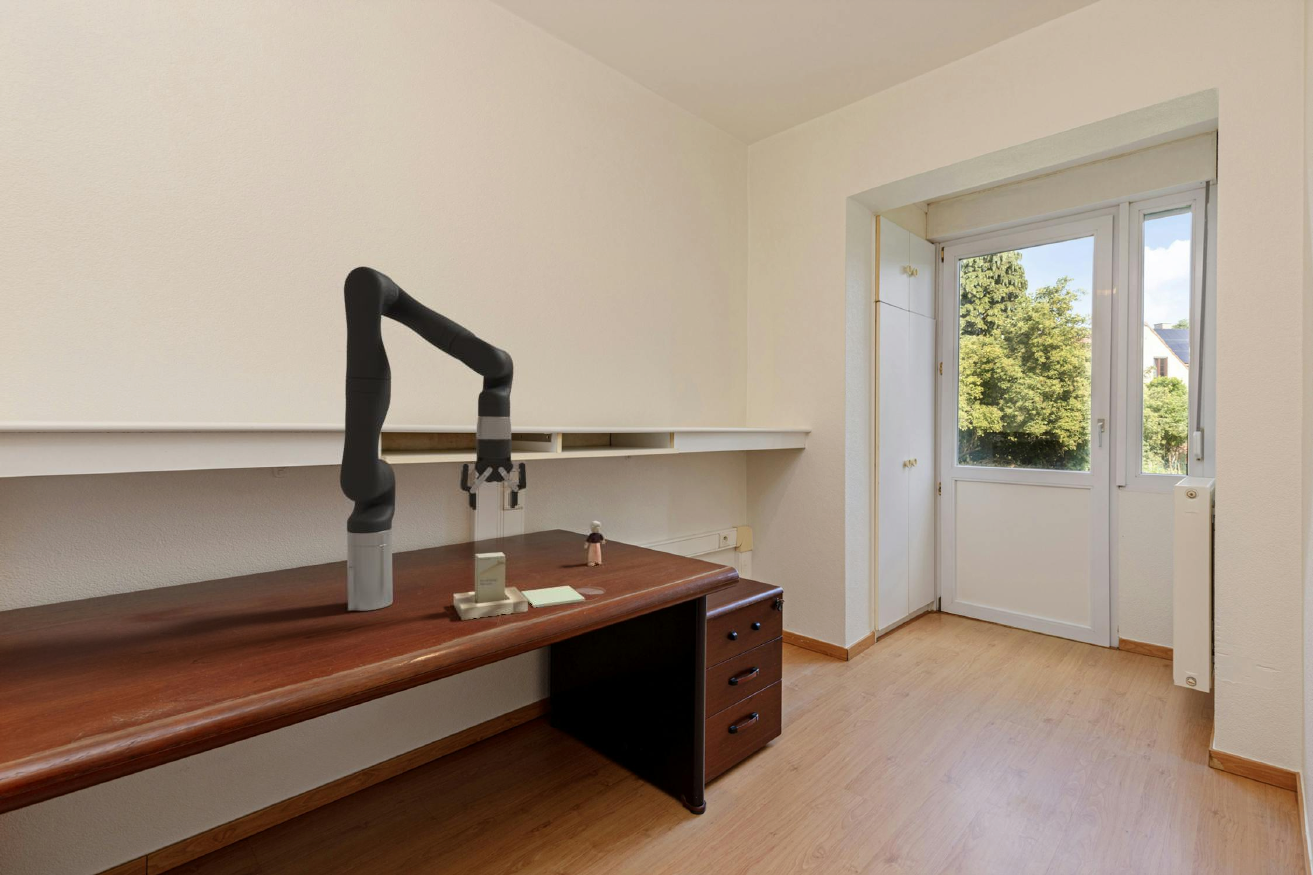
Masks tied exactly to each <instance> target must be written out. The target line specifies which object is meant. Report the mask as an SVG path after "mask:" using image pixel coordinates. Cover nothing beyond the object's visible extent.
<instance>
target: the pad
mask: <svg viewBox="0 0 1313 875" xmlns="http://www.w3.org/2000/svg"><path fill="white" fill-rule="evenodd" d="M520 593H521V594H522V595H523V596H524V597H525V598H526V599H527V600H528V604H530V603H531V604H532V605H531V604H530V605H531V606H532V607H533V608H534V609H535V608H536V607H537V608H542V607H550V606H556V605H565V604H572V603H579V602H585V601H586V598H585V597H584V596H583V595H581V594H580V593H579V592H577V591H576V590H575V589H574V588H572V587H571V586H569V585H563V586H555V587H547V588H537V589H531V590H524V591H523V590H522V591H520Z"/></svg>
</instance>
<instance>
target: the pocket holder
mask: <svg viewBox="0 0 1313 875" xmlns="http://www.w3.org/2000/svg"><path fill="white" fill-rule="evenodd" d="M453 606H454V608H455V610H456V612H457V614H458V616H459V618H460V617H461V618H460V619H461V621H462V620H463V621H469V619H470V620H474V619H473V618H477V619H481V618H480V617H484V618H489V617H488V616H492V617H497V615H499V616H502V615H501V614H506V615H512V614H511V613H513V614H518V613H519V614H520V613H526V612H527V611H529V610H528V609H529V602H528V600H527V599H526V598H525V597H524V596H523V595H522V594H521V591H520V590H518V588H516V586H511V587H505V600H503V601H495V602H487V603H479V604H476V603H475V591H468V592H461V593H459V592H458V593H453Z"/></svg>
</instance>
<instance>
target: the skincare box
mask: <svg viewBox="0 0 1313 875" xmlns="http://www.w3.org/2000/svg"><path fill="white" fill-rule="evenodd" d="M505 588H506V555H505V554H504V553H503V552H502V551H500V552H486V553H475V554H474V592H475V603H476V604H479V603H487V602H495V601H503V600H505Z"/></svg>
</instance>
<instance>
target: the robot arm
mask: <svg viewBox="0 0 1313 875" xmlns="http://www.w3.org/2000/svg"><path fill="white" fill-rule="evenodd" d="M343 299H344V308H345V309H344V310H345V321H346V365H345V366H346V367H345V368H346V370H345V412H344V413H345V415H344V417H345V418H344V419H345V420H344V441H343V442H344V443H343V452H342V460H341V466H340V471H339V472H340V473H339V474H340V475H339V484H340V488H341V490H342V493H343V494H344V495H345V497H346V498H348V499H349V500H350V501H352V502H354V507H353V510H352V512H351V514H350V516H348V518H347V520H346V540H347V541H346V542H347V545H346V546H347V547H346V550H347V552H346V555H347V556H346V557H347V559H346V560H347V565H346V566H347V572H346V573H347V611H361V612H362V611H374V610H378V609H383V608H386V607H388V606H391V605H392V604H393V602H394V601H393V599H394V598H393V594H394V592H393V533H392V532H393V529H392V528H393V525H392V523H393V519H394V516H395V512H396V490H397V489H396V475H395V472H394V469H393V467H392V466H391V465H390V464H389V463H388V462H387V460H384V459H381V458H379V445H380V444H379V441H380V436H381V433H382V432H381V431H382V428H383V426H384V423H385V422H386V418H387V415H388V412H389V409H390V404H391V398H392V394H391V393H392V369H391V366H390V361H389V358H388V355H387V351H386V349H385V345H384V340H383V336H382V316H383V317H386V318H388V319H390V320H393V321H395V322H397V323H400V324H402V325H403V326H406V327H407V328H409V329H410V330H412V331H414V333H416V334H417V335H419V336H420V337H421V338H422V339H424V340H425V341H426V342H428V343H429V344H431V345H432V346H433V347H435V348H437V349H438V350H440V351H441V352H443V353H445V354H447V355H448V356H450V357H452V358H453V359H456V360H458V361H460V362H461V363H462V364H464V365H465V366H467V368H469V369H471V370H472V371H473V372H475V373H476V374H478V375H480V376H482V378H483V379H482V380H483V381H482V390H481V391H480V393H479V394H478V398H477V422H476V432H475V436H476V459H475V460H476V461H475V463H466V462H463V463H462V464H461V466H460V467H461V468H460V469H461V471H460V481H459V482H460V483H459V487H460V489H461V490H462V491H465V492H467V493H468V506H469V508H470V509H471V510H472V511H476V510H477V493H476V492H477V491H478V489H479V488H480V487H481V486H482V485H483V483H484V482H485V483H493V482H497V483H503V481H504V482H505V484H506V485H507V486H508V487H509V488H510V492H509V507H510V509H515V508H516V506H518V503H519V502H518V500H519V495H518V494H519V492H520V491H521V490H525V489H526V488H527V473H526V464H525V462H522V461H519V462H518V463H517V462H515V463H513V462H512V423H511V393H512V386H513V380H514V379H513V378H514V361H513V358H512V356H511V355H510V353H509V352H507V351H505V350H504V349H501V348H498V347H496V346H494V345H493V344H491V343H489V342H487V341H485V340H484V339H481V338H479V337H477V336H476V335H475V333H473V332H472V331H471V330H469V329H468V328H466V327H464V326H462V325H460V324H459V323H457V322H456V321H454V320H453V319H450V318H449V317H447V316H445V315H443V314H442V313H439V312H437V311H435V310H433V309H432V308H429V307H428V306H425V305H424V304H422V303H421V302H420V301H419V300H416V299H415V298H414V297H412V296H411V295H410V294H409V293H408V292H407V291H406V290H404V289H403V288H402V287H401V286H400V285H399V284H397V283H396V282H395V281H394V280H393V279H392V278H391V277H389V276H388V275H386V274H385V273H383V272H381V271H378V270H376V269H375V268H371V267H369V266H358V267H354V269H352V270H350V272H348V274H347V276H346V278H345V281H344V285H343ZM513 469H514V470H515V472H516V473H517V475H518V484H516V483H515V481H514V480H513V479H512V478H511V476H510V473H511V472H512V470H513ZM473 470H475V471H476V473H477V474H478V475H477V477H476V478H475V479H474V480H473V482H472V484H471V485H468V484H469V483H468V482H469V481H468V480H469V474H471V473H472V472H473Z"/></svg>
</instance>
